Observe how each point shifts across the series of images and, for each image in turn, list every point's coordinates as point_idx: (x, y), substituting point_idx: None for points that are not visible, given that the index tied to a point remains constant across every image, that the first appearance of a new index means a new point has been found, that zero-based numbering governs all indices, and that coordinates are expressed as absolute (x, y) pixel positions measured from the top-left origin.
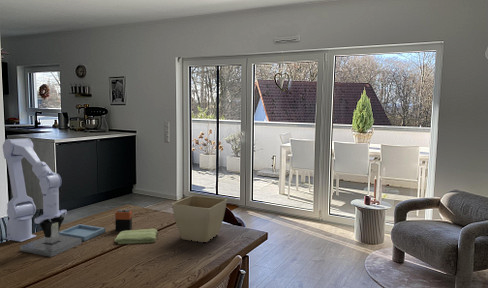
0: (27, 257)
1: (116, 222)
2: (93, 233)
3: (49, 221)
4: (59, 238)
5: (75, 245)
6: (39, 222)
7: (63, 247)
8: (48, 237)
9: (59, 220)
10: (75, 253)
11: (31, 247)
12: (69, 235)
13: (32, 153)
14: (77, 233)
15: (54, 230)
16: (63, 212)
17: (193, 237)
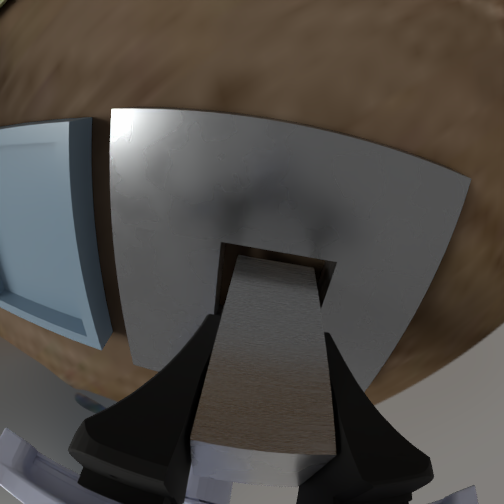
0: (446, 301)
1: None
2: (9, 127)
3: (332, 501)
4: (174, 293)
5: (200, 109)
6: (465, 497)
7: (351, 136)
8: (330, 337)
9: (174, 454)
10: (357, 17)
11: (384, 351)
12: (87, 270)
13: None
14: (38, 255)
15: (281, 363)
16: (38, 499)
17: None
